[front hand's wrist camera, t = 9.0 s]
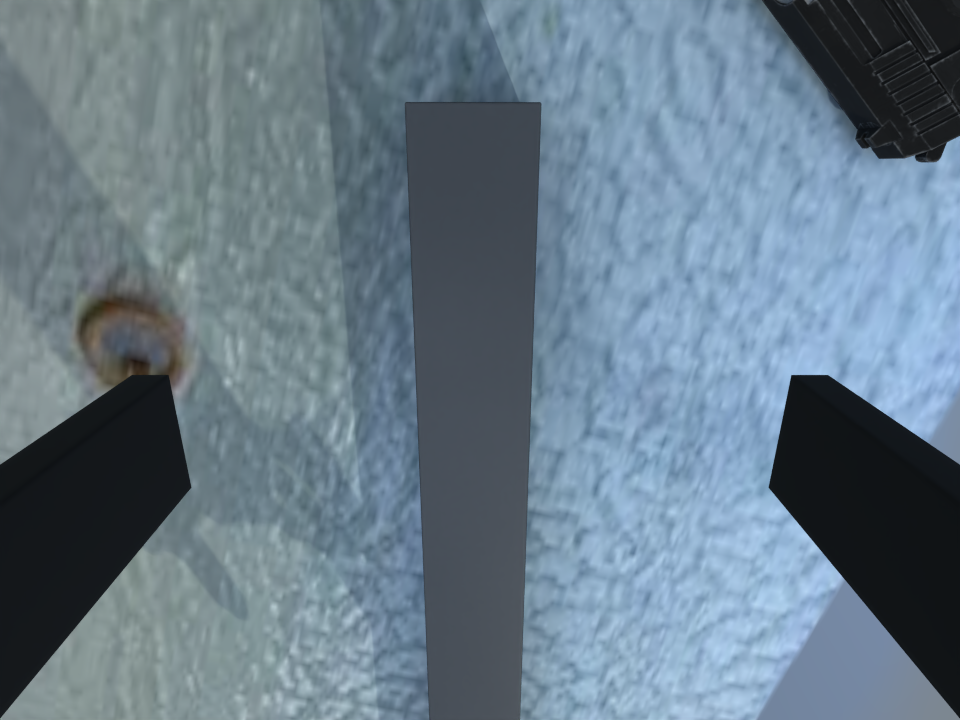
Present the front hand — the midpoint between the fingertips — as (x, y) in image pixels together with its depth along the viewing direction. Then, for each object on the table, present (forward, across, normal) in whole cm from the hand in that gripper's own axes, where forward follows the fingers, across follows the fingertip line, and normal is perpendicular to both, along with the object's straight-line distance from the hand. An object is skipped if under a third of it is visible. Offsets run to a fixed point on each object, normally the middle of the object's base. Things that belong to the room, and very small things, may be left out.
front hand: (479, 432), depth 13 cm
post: (+18, 0, -24) cm, 30 cm away
